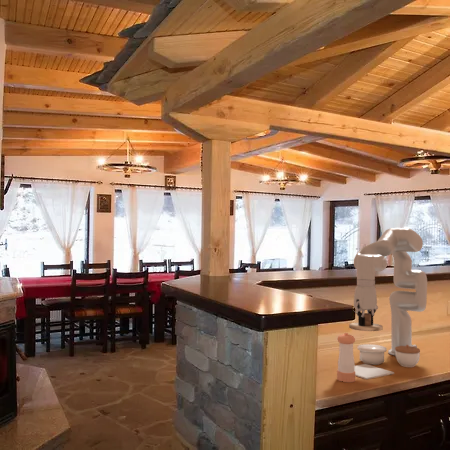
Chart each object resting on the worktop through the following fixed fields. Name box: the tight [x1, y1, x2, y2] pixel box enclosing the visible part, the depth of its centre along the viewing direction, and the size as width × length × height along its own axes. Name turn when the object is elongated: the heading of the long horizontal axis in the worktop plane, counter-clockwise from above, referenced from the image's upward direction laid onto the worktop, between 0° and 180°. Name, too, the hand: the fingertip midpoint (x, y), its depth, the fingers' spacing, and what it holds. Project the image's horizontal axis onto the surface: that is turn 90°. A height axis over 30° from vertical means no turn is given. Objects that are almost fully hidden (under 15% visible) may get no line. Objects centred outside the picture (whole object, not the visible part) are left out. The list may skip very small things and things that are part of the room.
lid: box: [348, 312, 384, 332], centre depth 212 cm, size 14×14×6 cm
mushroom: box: [357, 343, 387, 366], centre depth 228 cm, size 13×13×7 cm
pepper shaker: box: [336, 332, 356, 383], centre depth 200 cm, size 7×7×19 cm
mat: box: [354, 363, 395, 380], centre depth 212 cm, size 17×16×1 cm
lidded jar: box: [395, 345, 421, 368], centre depth 223 cm, size 11×11×9 cm
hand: (365, 325), depth 212 cm, fingers closed on lid, 4 cm apart
